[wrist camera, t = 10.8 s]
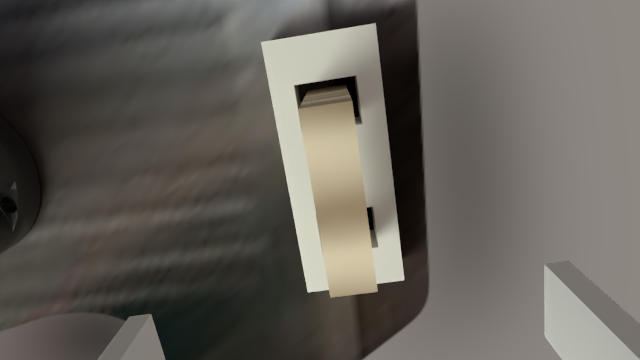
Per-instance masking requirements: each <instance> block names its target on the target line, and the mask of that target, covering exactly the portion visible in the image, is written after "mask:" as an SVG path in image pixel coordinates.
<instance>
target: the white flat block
mask: <svg viewBox="0 0 640 360" xmlns="http://www.w3.org/2000/svg"><path fill="white" fill-rule="evenodd" d="M261 44H262V50H263V55H264V60H265V66H266V71H267V77H268V82H269V87H270V93H271V98H272V103H273V109H274V114H275V119H276V125H277V130H278V135H279V141H280V146H281V152H282V157H283V162H284V168H285V173H286V178H287V184H288V189H289V194H290V200H291V205H292V210H293V216H294V221H295V226H296V232H297V237H298V243H299V248H300V253H301V259H302V264H303V269H304V275H305V280H306V285H307V291H308V292H315V291H323V290H329V286H328V281H327V275H326V269H325V263H324V257H323V251H322V245H321V239H320V234H319V228H318V222H317V216H316V210H315V204H314V198H313V192H312V187H311V181H310V175H309V169H308V163H307V157H306V151H305V145H304V139H303V134H302V128H301V122H300V116H299V110H298V109H299V107H300V105H301V100H300V94H299V88H298V85H299V84H306V83H312V82H318V81H325V80H331V79H337V78H343V77H350V76H354V79H355V86H356V94H357V102H358V109H359V117H355V125H356V132H357V140H358V147H359V155H360V162H361V170H362V177H363V185H364V192H365V200H366V207H371V210H372V218H373V225H374V230H370V238H371V245H372V253H373V260H374V268H375V275H376V283H377V284H379V283H386V282H394V281H402V280H404V273H403V264H402V255H401V246H400V237H399V228H398V219H397V210H396V201H395V192H394V183H393V174H392V165H391V156H390V147H389V138H388V129H387V120H386V111H385V102H384V93H383V84H382V75H381V66H380V57H379V48H378V39H377V31H376V23H373V24H367V25H361V26H355V27H349V28H343V29H337V30H331V31H325V32H319V33H313V34H307V35H301V36H295V37H289V38H283V39H277V40H271V41H265V42H261Z"/></svg>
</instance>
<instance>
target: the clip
mask: <svg viewBox="0 0 640 360" xmlns="http://www.w3.org/2000/svg"><path fill="white" fill-rule="evenodd" d="M298 110H299V116H300V122H301V128H302V134H303V139H304V145H305V151H306V157H307V163H308V169H309V175H310V181H311V187H312V192H313V198H314V204H315V210H316V216H317V222H318V228H319V234H320V239H321V245H322V251H323V257H324V263H325V269H326V275H327V281H328V286H329V292H330V298H331V297H339V296H347V295H355V294H363V293H371V292H378V290H377V283H376V275H375V268H374V260H373V253H372V245H371V238H370V230H369V222H368V215H367V207H366V200H365V192H364V185H363V177H362V170H361V162H360V155H359V147H358V140H357V132H356V125H355V117H354V110H353V102H352V99H351V96H350V94H349V92H348V90H347V87H346V85H339V86H333V87H326V88H320V89H313V90H308V91H307V93H306V95H305V97H304V99H303V101H302V103H301V105H300V107H299V109H298Z"/></svg>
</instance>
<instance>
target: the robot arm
mask: <svg viewBox="0 0 640 360" xmlns="http://www.w3.org/2000/svg"><path fill="white" fill-rule="evenodd" d="M40 195H41V194H40V181H39V176H38V172H37V168H36V165H35V162H34V160H33V158H32V155H31V153H30V151H29V150H28V148H27V146H26V144H25V143H24V141H23V140H22V138H21V137H20V136H19V134H18V133H17V132H16V131H15V129H14V128H13V127H12V126H11V125H10V124H9V123H8V122H7V121H6V120H5V119H4V118H3V117H2V116H0V254H1V253H2V252H4V251H6V250H7V249H9V248H10V247H12V246H14V245H15V244H16V243H18V242H19V241H20V240H21V239H22V238H23V237H24V236H25V235H26V234H27V233H28V232H29V230H30V229H31V227H32V225H33V223H34V221H35V219H36V217H37V214H38V210H39V205H40ZM544 299H545V300H544V313H545V314H544V316H545V319H544V320H545V337H546V339H547V340H548V341H549V343H550V344H551V345H552V347H553V348H554V349H555V351H556V352H557V353H558V354H559V356H560V357H561V359H562V360H640V324H639V323H638V322H637V321H636V320H635V319H634V318H633V317H632V316H630V315H629V314H628V313H627V312H626V311H625V310H624V309H622V308H621V307H620V306H619V305H618V304H617V303H616V302H615V301H613V300H612V299H611V298H610V297H609V296H608V295H607V294H605V293H604V292H603V291H602V290H601V289H600V288H599V287H598V286H597V285H595V284H594V283H593V282H592V281H591V280H590V279H589V278H587V277H586V276H585V275H584V274H583V273H582V272H581V271H580V270H578V269H577V268H576V267H575V266H574V265H573V264H572V263H571V262H569V261H564V262H556V263H548V264H544ZM98 360H165V357H164V354H163V351H162V348H161V344H160V341H159V338H158V335H157V332H156V328H155V325H154V322H153V319H152V316H151V314H147V315H139V316H131V317H129V318H128V319H127V321H126V322H125V323H124V325H123V326H122V327H121V329H120V330H119V332H118V333H117V334H116V335H115V337H114V338H113V340H112V341H111V342H110V344H109V345H108V346H107V348H106V349H105V350H104V352H103V353H102V355H101V356H100V357H99V358H98Z"/></svg>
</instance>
